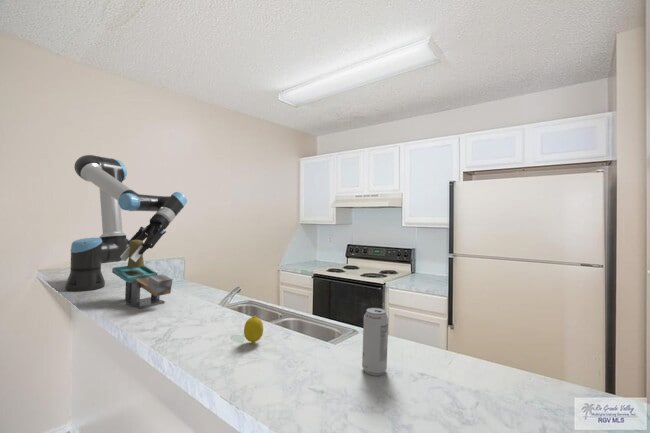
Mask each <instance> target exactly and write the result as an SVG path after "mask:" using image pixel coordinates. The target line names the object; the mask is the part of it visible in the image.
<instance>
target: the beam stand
mask: <svg viewBox="0 0 650 433" xmlns="http://www.w3.org/2000/svg"><path fill="white" fill-rule="evenodd" d="M124 295H125V296H124V300H125V301H126V302H125V305H126V306H130V307H133V308H135V309H138V310H142V309H145V308H151V307H155V306H159V305H163V304H165V303H166V302H165V300H163V299H160V296H161V295H160V296H156V297H155V296H154V295H152V294H151V293H150V296H149V297H144V298H141V288H140V284H139V283H134V282H126V281H125V293H124Z"/></svg>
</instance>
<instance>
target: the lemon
mask: <svg viewBox="0 0 650 433" xmlns="http://www.w3.org/2000/svg"><path fill="white" fill-rule="evenodd" d="M263 324H264V323H263V322H262V320H261V319H260V318H259V317H257V316H256V315H253V316H252V317H249V318H248V319H247V320H246V321H245V323H244V327H243V328H244V329H243V334H244V335H243V336H244V338H245V339H246V340H247V341H248V342H250V343H251V344H255V343H256V342H258V341H259V340H260V339H261V338H262V337H263V334H264V325H263Z"/></svg>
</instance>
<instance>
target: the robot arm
mask: <svg viewBox="0 0 650 433" xmlns="http://www.w3.org/2000/svg"><path fill="white" fill-rule="evenodd" d="M73 166H74V171H75V174H77V175H78V177H80V178H81V179H82V180H83V181H85V182H91V183H92V184H94V185H95V186H96V187H98V188H99V198H100V199H99V201H100V212H101V214H100V216H101V229H102V234H101V235H100V236H99V237H86V238H85V237H84V238H80V239H76V240H73V242H72V243H71V245H70V273H69V275H68V277H67V280H66V282H65V285H64V286H65V287H64V290H65V291H67V292H68V291H69V292H82V291H84V292H85V291H93V290H94V291H95V290H98V289H102V288H104V287H105V284H106V281H105V278H104V276H103V273H102V265H103V264H108V263H117V262H122V261H123V262H126V261H128V260H129V254H130V247H129V242H130V241H131V240H142V241H143V244H142V245H143V246H140V247H139V248H138V249H137V250H136V251H135V253H134V254H133V255H132V256H131V257H130V258H131V259H132V260H133V261H134V262H136V261H137V260H138V259H139V257H140V256H141V255H142V254H143V255H144V253H145V252H146V251H147V250H149V249H153V248H154V247H155V245H156V244H157V243H158V242H159V241H160V239H161V238H162V237H163V235H165V234H166V233H167V231H166V229H167V227H168V226H169V225H170V224H171V223H172V222H173V221H174V219H175V218H176V217H177V216H178V214H179V213H180V212H181V211H182V210H183V209H184V207H185V206H186V204H187V203H188V198H187V197H186V196H185V195H184V194H183V193H182V192H181V191H175V192H173V193H172V194H171V195H170V196H167V195H166V196H164V195H163V196H162V195H161V196H160V195H152V194H151V195H150V194H140V193H137V192H136V191H134V190H133V189H132V188H130V187H129V186H127V185H126V184H124V183H123V181H125V180H126V179H127V175H128V172H127V167H126V165H125V164H124V162H123V161H120V160H118V159H115V158H109V157H104V156H100V155H99V156H98V155H92V154H85V155H82V156H80V157H78V159H77V160H76V161H75V162H74V165H73ZM122 210H123V211H129V212H134V211H135V212H155V214H153V215H152V217H151V218H150V219H149V224H148V225H146V227H143V226H140V228H139V229H138V231H136V232H135V234H134V235H133V236H132V237H131V238H130V239H128V238H127V234H126V233H124V232H123V221H122V220H123V219H122Z"/></svg>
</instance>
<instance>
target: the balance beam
mask: <svg viewBox="0 0 650 433" xmlns="http://www.w3.org/2000/svg"><path fill="white" fill-rule="evenodd" d="M127 266H128V265H124V266H115V267H112V270H111V273H113V274H114V275H115V276H116V277H119V278H120V279H122V280H123V281H124V282H125V283H126V282H134V283H139V284H140V289H141V288H142V289H143V290H145V291H146V292H148V293H150V295H151V294H152V295H154V296H155V297H156V296H164V295H170V294H171V291H172V285H173V280H174V279H173V278H171V277H170V276H167V275H166V274H158V272H156V271H155V270H152V269H151V268H149V267H148V266H146V265H144V266H142V267H127Z"/></svg>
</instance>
